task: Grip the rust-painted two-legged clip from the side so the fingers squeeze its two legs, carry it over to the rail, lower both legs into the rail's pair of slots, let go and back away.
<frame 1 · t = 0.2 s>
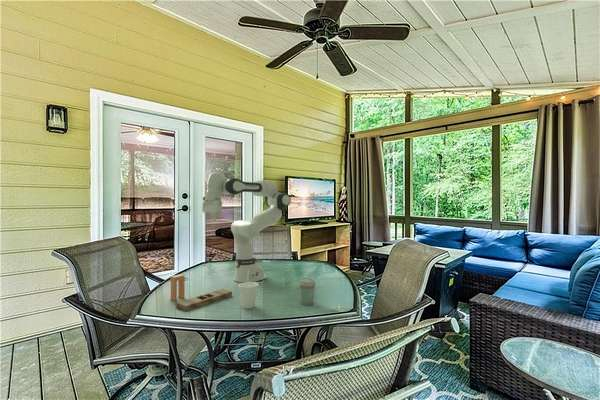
hand: (210, 220, 182), 40 cm above the table, tool pointing down, fingers open, 8 cm apart
clip: (177, 298, 158), on the table
cup: (248, 307, 147), on the table
coffee cup: (307, 303, 152), on the table
rail: (205, 301, 154), on the table
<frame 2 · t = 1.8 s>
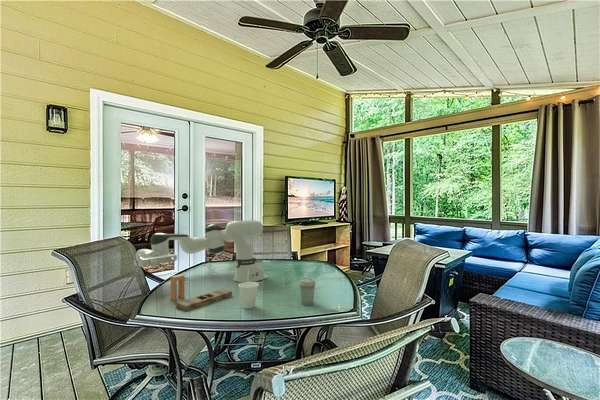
hand: (165, 261, 166), 18 cm above the table, tool horizontal, fingers open, 8 cm apart
nothing on the table moved.
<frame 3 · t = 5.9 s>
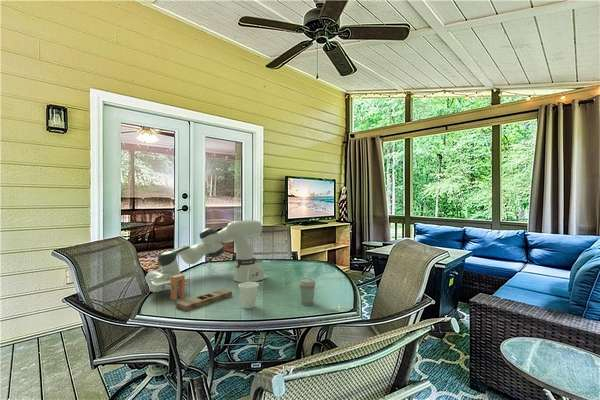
hand: (178, 286, 158), 7 cm above the table, tool horizontal, fingers closed on clip, 6 cm apart
clip: (177, 298, 158), on the table, touching gripper
everything else where it was.
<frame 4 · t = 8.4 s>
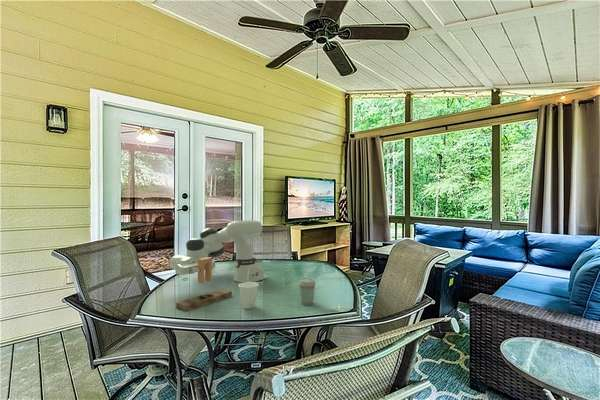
hand: (205, 269, 153), 17 cm above the table, tool horizontal, fingers closed on clip, 6 cm apart
clip: (204, 281, 154), point 10 cm above the table, touching gripper
everything else where it was.
when the fingers open (8 cm above the table, at t = 11.1 s): clip drops 1 cm, resting in rail.
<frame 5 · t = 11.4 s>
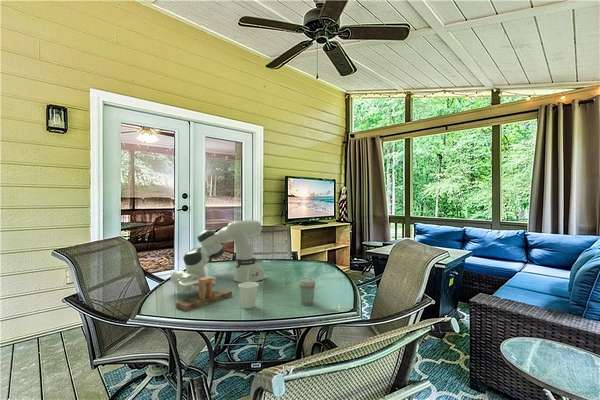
hand: (206, 286, 153), 8 cm above the table, tool horizontal, fingers open, 8 cm apart
clip: (205, 301, 154), resting in rail
everything else where it was.
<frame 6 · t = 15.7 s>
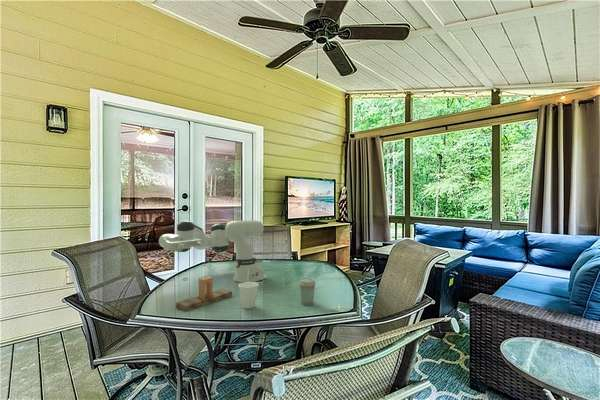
hand: (192, 245, 161), 28 cm above the table, tool horizontal, fingers open, 8 cm apart
nothing on the table moved.
at the end: clip 0.0 cm off-centre on the rail, point 0.0 cm above the rail's base; clip tilted 0°; the gripper is holding nothing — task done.
